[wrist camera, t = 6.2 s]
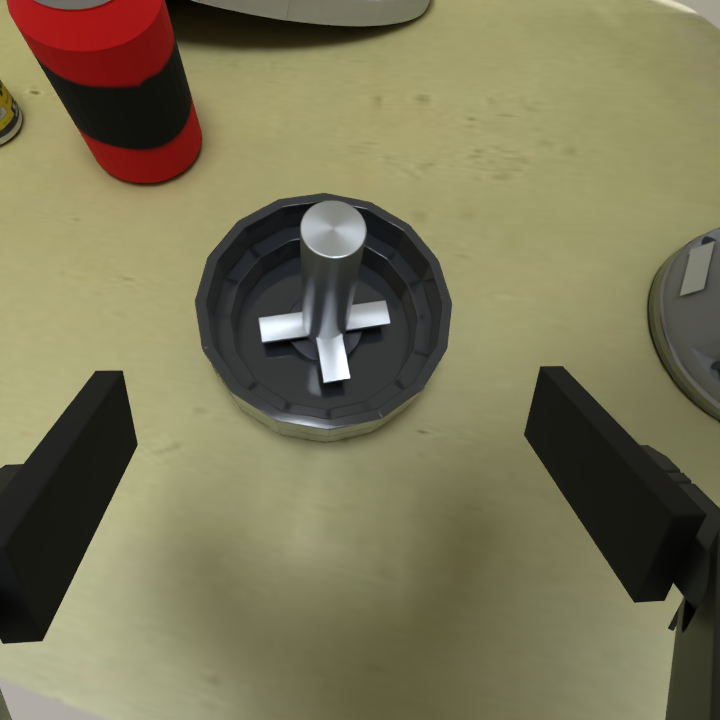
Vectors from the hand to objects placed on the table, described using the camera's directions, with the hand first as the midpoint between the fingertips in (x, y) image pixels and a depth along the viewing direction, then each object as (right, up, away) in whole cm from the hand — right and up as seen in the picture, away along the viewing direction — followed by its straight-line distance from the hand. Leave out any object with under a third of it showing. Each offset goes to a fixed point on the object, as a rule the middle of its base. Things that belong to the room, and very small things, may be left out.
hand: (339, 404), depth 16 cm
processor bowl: (-2, +3, +17) cm, 17 cm away
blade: (-2, +3, +16) cm, 17 cm away
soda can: (-15, +17, +20) cm, 30 cm away
